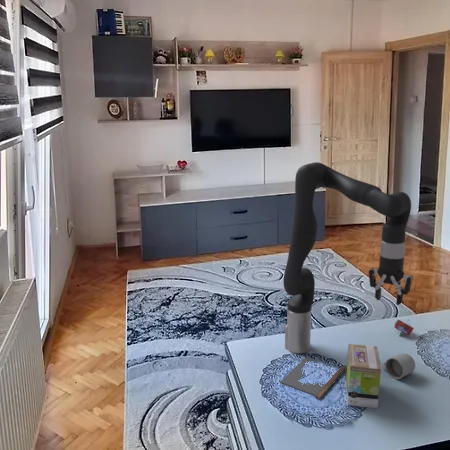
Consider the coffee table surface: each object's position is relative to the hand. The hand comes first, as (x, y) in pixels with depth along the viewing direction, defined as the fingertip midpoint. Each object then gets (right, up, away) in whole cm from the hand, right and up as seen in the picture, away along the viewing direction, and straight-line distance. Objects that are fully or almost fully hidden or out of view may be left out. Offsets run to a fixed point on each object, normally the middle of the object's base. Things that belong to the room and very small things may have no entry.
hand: (388, 301), depth 163 cm
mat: (-23, -29, +15) cm, 40 cm away
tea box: (-8, -32, +4) cm, 33 cm away
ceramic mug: (+8, -29, +15) cm, 33 cm away
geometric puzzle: (+20, -21, +42) cm, 51 cm away
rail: (-17, -30, +10) cm, 36 cm away
